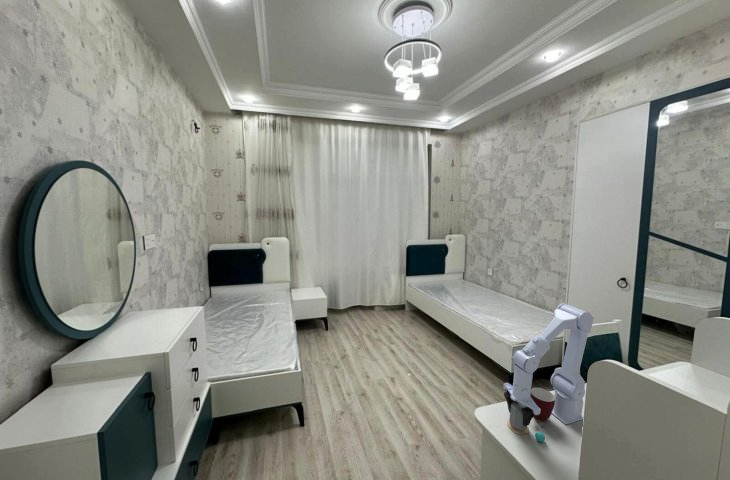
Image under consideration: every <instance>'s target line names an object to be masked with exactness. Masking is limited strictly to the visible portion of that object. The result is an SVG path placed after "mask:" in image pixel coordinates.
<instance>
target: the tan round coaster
mask: <svg viewBox="0 0 730 480" xmlns="http://www.w3.org/2000/svg"><path fill="white" fill-rule="evenodd" d="M506 423H507V424H506V425H507V427H508V429H509V430H510V431H511V432H513V433H515V434H518V435H521V436H524V435H528V433H529V431H530V428H529V425H527V429H525V430H519V429H516V428H514V427H513V426H512V425H511V424H510V418H509V419H507V422H506Z"/></svg>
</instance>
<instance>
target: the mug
mask: <svg viewBox="0 0 730 480" xmlns="http://www.w3.org/2000/svg"><path fill="white" fill-rule="evenodd" d="M554 395H555V394H553V393H552V392H551V391H549V390H547V389H545V388H543V387H531V395H530V397H531V398H532V400H533V401H534V402H535V404H536V405H537V406H538V407H539V408H540V409H541V411H540V414H538V415H534V416H533V418H534V419H535V420H536V421H538V422H541V423H544V422H547V420H549V419H550V418H551V415H552V411H553V408H554V405H555V397H554Z"/></svg>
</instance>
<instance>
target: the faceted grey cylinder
mask: <svg viewBox="0 0 730 480" xmlns="http://www.w3.org/2000/svg"><path fill="white" fill-rule="evenodd" d="M524 407H526V406H525V405H524V404H522V403H520V402H518V401H513V402H512V403H511V410H510V412H509V419H510V424H511V425H512V426H513V427H514V428H516V429H519V430H525V429H527V426H528V425H527V426H524V425H523V413H522V410H521V408H524Z"/></svg>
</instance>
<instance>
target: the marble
mask: <svg viewBox="0 0 730 480" xmlns="http://www.w3.org/2000/svg"><path fill="white" fill-rule="evenodd" d="M534 436H535V437H534V438H535V439H536V440H537V442H539V443H543V442H545V441H546V437H545V436H546V435H545V434H544V433H543V432H541V431H536V432H535V433H534Z"/></svg>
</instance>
